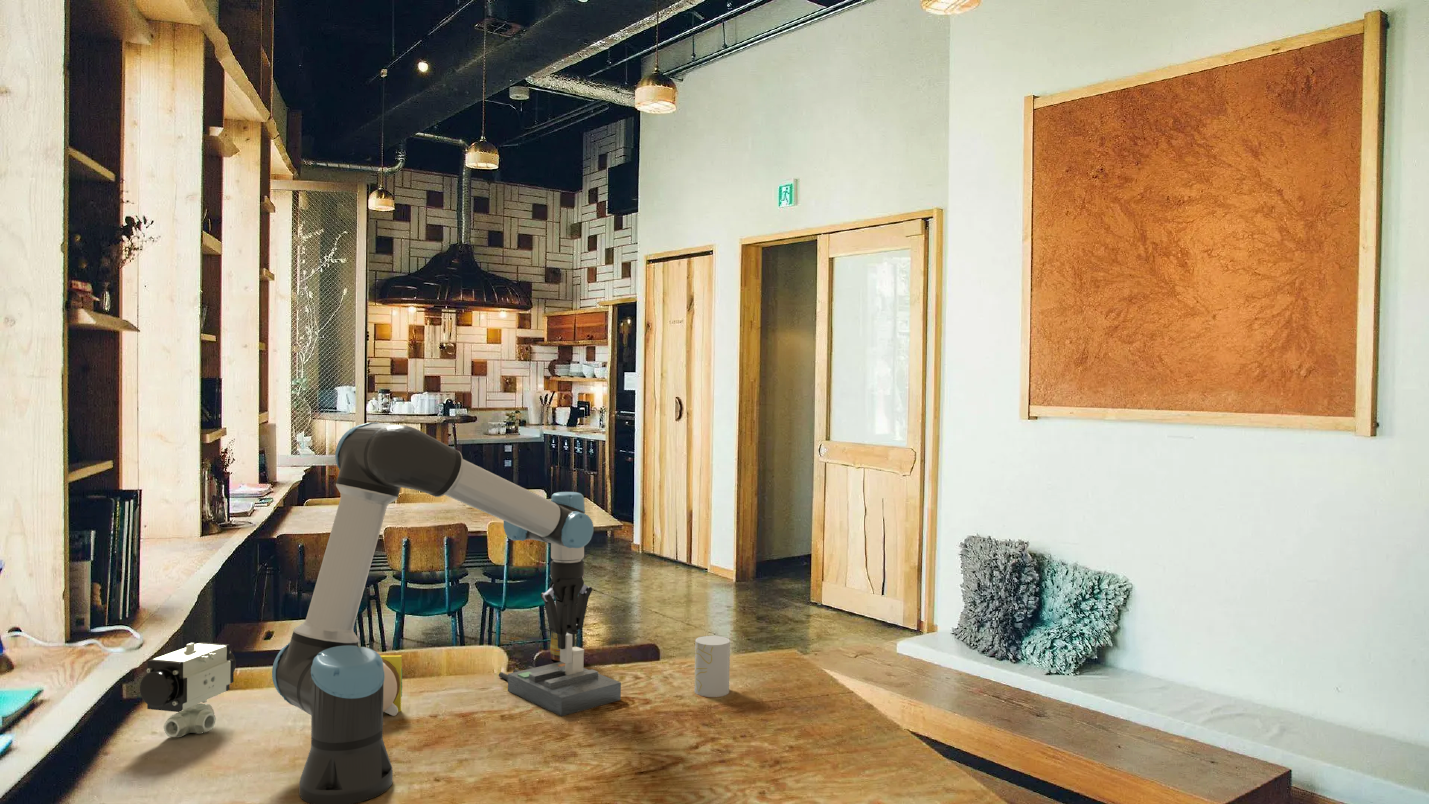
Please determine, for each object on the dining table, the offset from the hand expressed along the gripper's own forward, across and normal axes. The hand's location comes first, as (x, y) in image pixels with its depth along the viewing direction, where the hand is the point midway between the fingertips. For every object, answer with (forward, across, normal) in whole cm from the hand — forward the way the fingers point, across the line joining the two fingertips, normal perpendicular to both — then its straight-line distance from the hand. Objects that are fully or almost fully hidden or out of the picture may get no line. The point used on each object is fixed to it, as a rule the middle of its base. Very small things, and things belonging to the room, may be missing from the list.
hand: (566, 661), depth 210 cm
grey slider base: (+8, +1, -5) cm, 9 cm away
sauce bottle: (+8, -15, -24) cm, 30 cm away
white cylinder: (+8, -27, +20) cm, 35 cm away
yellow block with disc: (+8, +39, -17) cm, 43 cm away
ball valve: (+8, +70, -30) cm, 76 cm away
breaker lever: (+3, -2, 0) cm, 4 cm away
